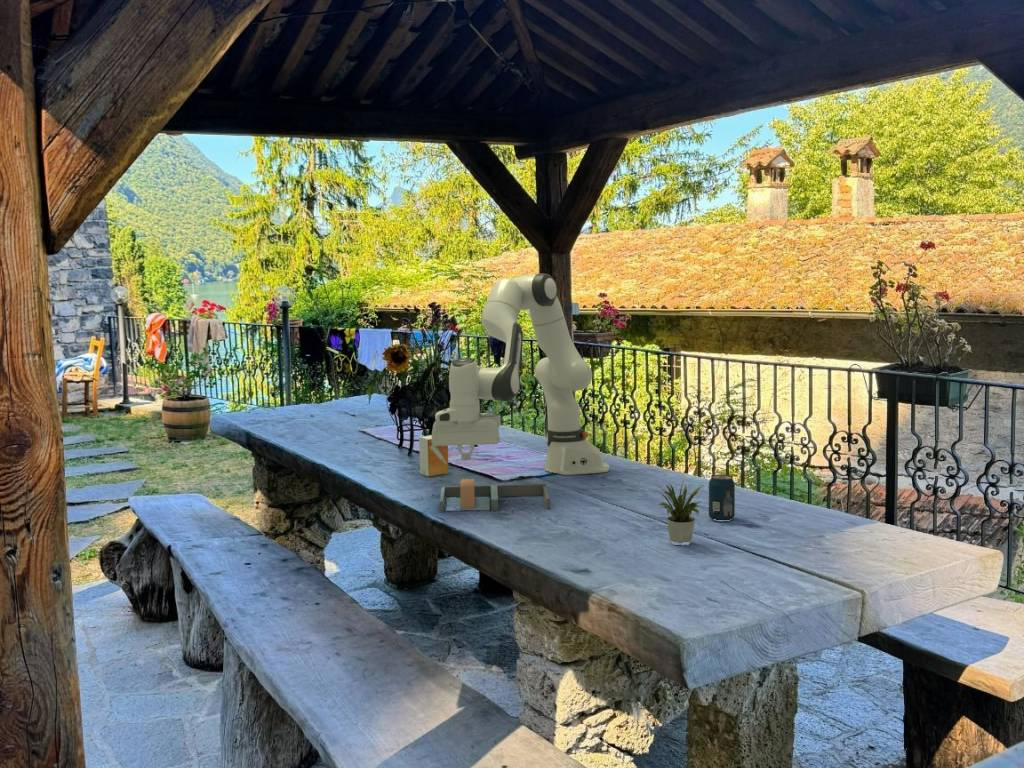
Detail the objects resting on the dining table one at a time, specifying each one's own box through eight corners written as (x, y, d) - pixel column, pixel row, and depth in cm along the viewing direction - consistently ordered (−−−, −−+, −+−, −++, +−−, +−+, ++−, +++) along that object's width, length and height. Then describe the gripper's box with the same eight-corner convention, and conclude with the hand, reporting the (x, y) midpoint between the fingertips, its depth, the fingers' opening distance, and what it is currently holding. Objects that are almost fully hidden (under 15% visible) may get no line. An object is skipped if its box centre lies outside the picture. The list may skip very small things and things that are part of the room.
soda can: (715, 514, 259) (716, 472, 258) (738, 518, 255) (739, 475, 253) (704, 520, 254) (704, 477, 252) (727, 524, 249) (727, 480, 248)
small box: (428, 477, 314) (427, 439, 313) (419, 473, 319) (418, 436, 318) (449, 473, 319) (448, 436, 317) (440, 470, 324) (439, 433, 322)
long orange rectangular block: (474, 498, 283) (474, 478, 282) (474, 508, 271) (473, 488, 270) (461, 498, 283) (461, 479, 282) (460, 508, 271) (460, 488, 270)
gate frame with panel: (545, 494, 286) (545, 483, 286) (549, 508, 270) (549, 496, 269) (442, 497, 285) (441, 486, 285) (439, 512, 269) (439, 500, 268)
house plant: (641, 548, 230) (641, 484, 228) (653, 533, 243) (653, 472, 241) (699, 553, 225) (699, 488, 223) (708, 537, 238) (708, 475, 236)
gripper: (499, 410, 277) (500, 456, 278) (431, 412, 276) (432, 458, 278) (500, 414, 270) (501, 460, 272) (430, 416, 270) (431, 462, 272)
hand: (466, 459), depth 275 cm, fingers closed
